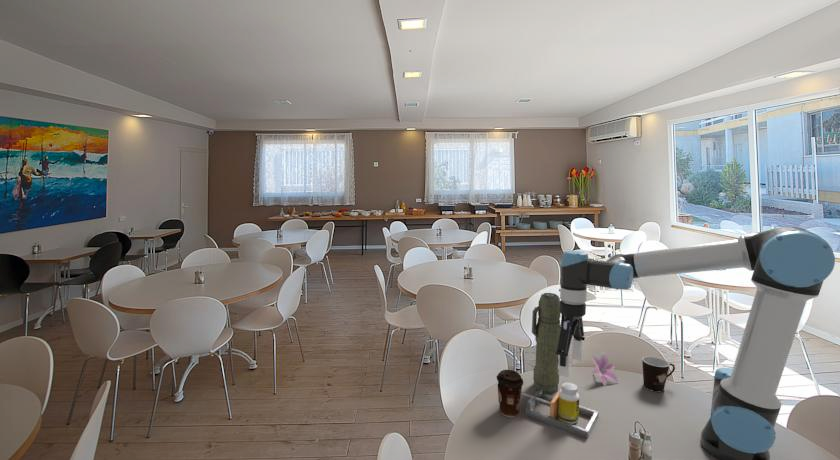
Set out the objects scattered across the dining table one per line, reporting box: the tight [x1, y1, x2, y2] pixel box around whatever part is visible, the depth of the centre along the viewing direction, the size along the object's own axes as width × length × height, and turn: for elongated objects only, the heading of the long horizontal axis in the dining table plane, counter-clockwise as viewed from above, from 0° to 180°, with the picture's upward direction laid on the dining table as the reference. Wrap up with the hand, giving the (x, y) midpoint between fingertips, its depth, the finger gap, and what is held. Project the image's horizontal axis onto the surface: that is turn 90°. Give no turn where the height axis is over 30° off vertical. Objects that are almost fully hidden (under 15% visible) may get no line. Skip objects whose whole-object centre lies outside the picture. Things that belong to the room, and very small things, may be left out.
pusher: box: [521, 388, 562, 419], centre depth 129 cm, size 13×10×6 cm
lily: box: [591, 350, 619, 387], centre depth 149 cm, size 12×12×10 cm
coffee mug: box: [641, 355, 676, 392], centre depth 143 cm, size 12×9×10 cm
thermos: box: [531, 292, 566, 394], centre depth 141 cm, size 9×12×35 cm
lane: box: [525, 388, 599, 439], centre depth 125 cm, size 19×13×4 cm
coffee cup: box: [496, 369, 524, 419], centre depth 127 cm, size 9×8×13 cm
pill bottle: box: [557, 382, 580, 425], centre depth 123 cm, size 6×6×11 cm
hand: (570, 367), depth 122 cm, fingers open, 13 cm apart
